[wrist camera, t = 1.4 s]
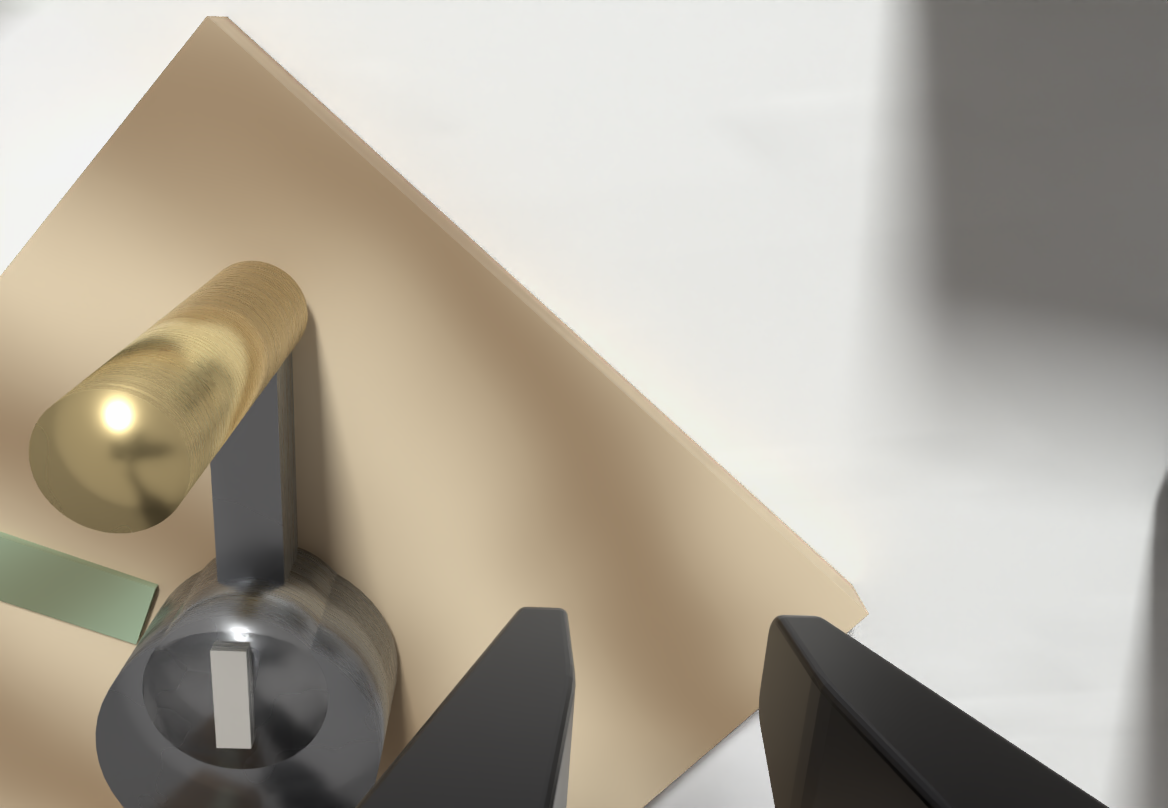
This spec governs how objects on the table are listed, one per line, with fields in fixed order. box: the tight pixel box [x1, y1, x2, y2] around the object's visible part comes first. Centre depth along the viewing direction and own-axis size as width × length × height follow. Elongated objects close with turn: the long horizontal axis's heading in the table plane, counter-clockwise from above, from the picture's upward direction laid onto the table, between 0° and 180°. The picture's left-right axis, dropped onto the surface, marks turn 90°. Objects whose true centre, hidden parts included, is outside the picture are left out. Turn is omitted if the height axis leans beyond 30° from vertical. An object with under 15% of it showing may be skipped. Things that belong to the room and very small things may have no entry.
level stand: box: [0, 16, 869, 808], centre depth 20 cm, size 18×17×6 cm
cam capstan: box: [29, 261, 398, 808], centre depth 17 cm, size 11×5×7 cm, turn 176°
